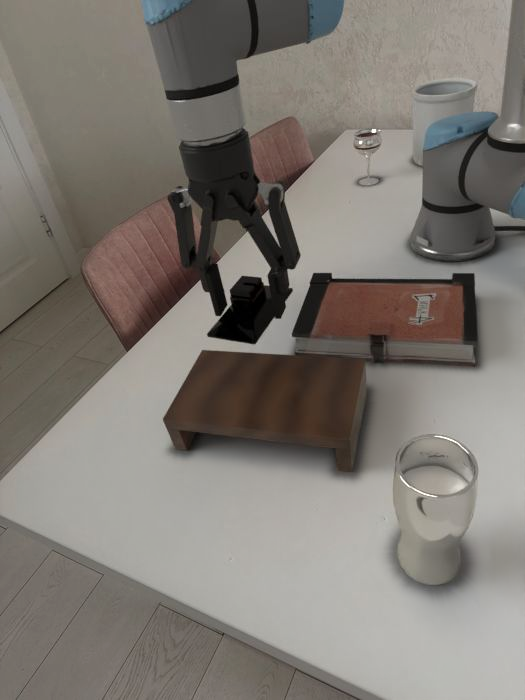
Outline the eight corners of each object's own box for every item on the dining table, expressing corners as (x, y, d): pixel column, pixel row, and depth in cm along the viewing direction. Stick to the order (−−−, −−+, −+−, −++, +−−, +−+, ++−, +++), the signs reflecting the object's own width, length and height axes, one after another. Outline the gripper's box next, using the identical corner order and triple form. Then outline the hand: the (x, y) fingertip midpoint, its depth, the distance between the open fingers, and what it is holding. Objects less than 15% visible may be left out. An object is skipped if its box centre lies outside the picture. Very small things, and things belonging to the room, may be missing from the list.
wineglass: (386, 177, 128) (386, 128, 120) (376, 187, 124) (374, 137, 116) (361, 175, 131) (359, 128, 124) (350, 185, 127) (348, 137, 120)
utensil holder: (478, 163, 125) (486, 86, 114) (417, 172, 126) (419, 98, 116) (460, 145, 136) (466, 74, 125) (405, 154, 138) (406, 84, 127)
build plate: (255, 345, 61) (248, 315, 58) (205, 337, 64) (196, 308, 61) (293, 290, 69) (288, 260, 66) (247, 285, 72) (241, 257, 69)
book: (294, 359, 78) (290, 333, 75) (316, 296, 91) (313, 272, 88) (474, 369, 70) (478, 342, 67) (471, 299, 82) (474, 273, 79)
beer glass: (384, 531, 54) (383, 439, 44) (449, 520, 53) (461, 425, 44) (404, 595, 48) (407, 507, 39) (476, 584, 48) (496, 492, 38)
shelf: (367, 391, 70) (365, 359, 66) (352, 472, 60) (349, 439, 56) (211, 379, 78) (202, 349, 74) (175, 449, 68) (162, 419, 64)
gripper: (315, 114, 52) (332, 297, 66) (143, 130, 58) (192, 293, 72) (298, 138, 46) (320, 332, 60) (111, 153, 53) (170, 324, 67)
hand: (250, 311), depth 66 cm, fingers closed on build plate, 8 cm apart
